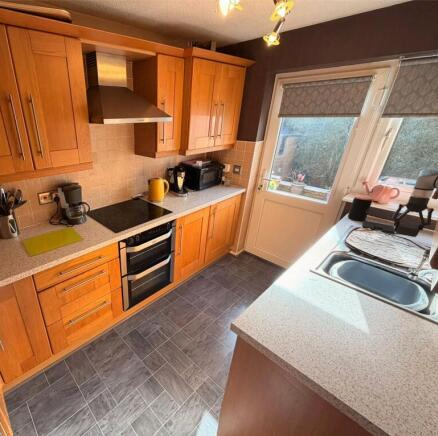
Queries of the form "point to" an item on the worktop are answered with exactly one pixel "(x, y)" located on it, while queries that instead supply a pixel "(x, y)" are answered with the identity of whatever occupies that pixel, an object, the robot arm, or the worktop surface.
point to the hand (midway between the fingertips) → (405, 233)
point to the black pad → (407, 229)
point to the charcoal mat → (379, 227)
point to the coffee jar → (360, 207)
